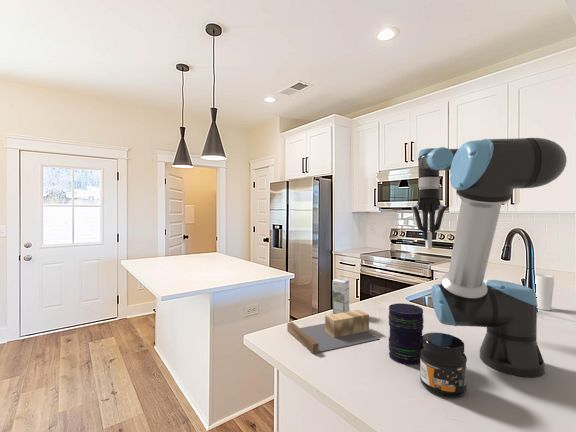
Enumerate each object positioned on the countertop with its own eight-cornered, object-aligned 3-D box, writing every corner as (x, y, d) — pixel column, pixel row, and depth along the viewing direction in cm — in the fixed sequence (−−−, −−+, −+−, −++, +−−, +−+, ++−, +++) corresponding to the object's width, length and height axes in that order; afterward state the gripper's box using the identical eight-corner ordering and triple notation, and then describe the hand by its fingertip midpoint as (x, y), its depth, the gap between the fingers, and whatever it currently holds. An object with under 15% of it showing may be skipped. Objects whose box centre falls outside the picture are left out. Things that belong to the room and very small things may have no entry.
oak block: (358, 309, 117) (325, 315, 111) (368, 314, 112) (334, 320, 106) (359, 325, 117) (325, 331, 111) (369, 330, 112) (334, 337, 106)
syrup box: (349, 311, 134) (349, 279, 134) (344, 315, 129) (344, 281, 129) (337, 309, 137) (337, 277, 137) (332, 313, 132) (332, 280, 132)
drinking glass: (557, 311, 132) (558, 277, 132) (542, 311, 132) (542, 277, 132) (544, 306, 139) (545, 273, 138) (529, 306, 139) (530, 273, 139)
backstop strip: (292, 330, 114) (292, 322, 114) (318, 352, 96) (318, 343, 96) (287, 330, 113) (287, 322, 113) (313, 354, 95) (312, 344, 95)
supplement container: (414, 388, 76) (414, 340, 76) (426, 371, 84) (426, 328, 84) (461, 405, 69) (461, 353, 69) (470, 385, 77) (470, 338, 77)
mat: (346, 320, 123) (346, 319, 123) (379, 339, 105) (379, 338, 105) (292, 330, 114) (292, 329, 114) (318, 352, 96) (318, 351, 96)
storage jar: (382, 357, 92) (382, 308, 92) (396, 346, 99) (396, 301, 99) (416, 369, 85) (416, 316, 85) (428, 356, 92) (428, 307, 92)
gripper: (442, 189, 123) (442, 247, 124) (408, 189, 125) (408, 247, 125) (450, 187, 116) (449, 249, 116) (414, 188, 117) (414, 249, 118)
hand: (428, 248), depth 121 cm, fingers closed
